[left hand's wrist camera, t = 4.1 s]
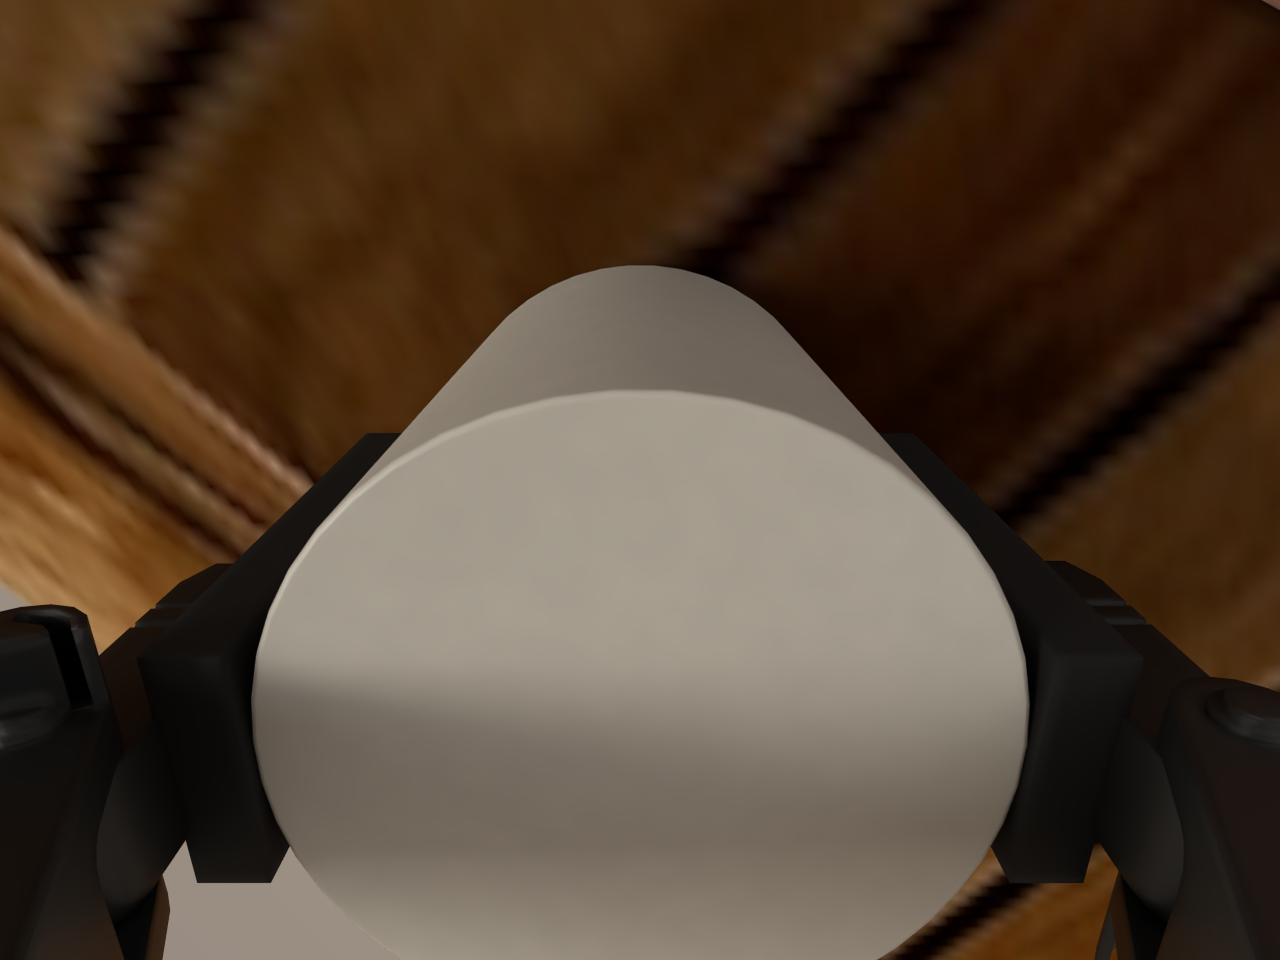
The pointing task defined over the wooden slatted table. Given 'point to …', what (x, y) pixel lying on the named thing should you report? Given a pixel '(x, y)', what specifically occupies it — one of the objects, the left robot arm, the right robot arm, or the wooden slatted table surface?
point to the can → (640, 656)
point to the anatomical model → (1273, 3)
